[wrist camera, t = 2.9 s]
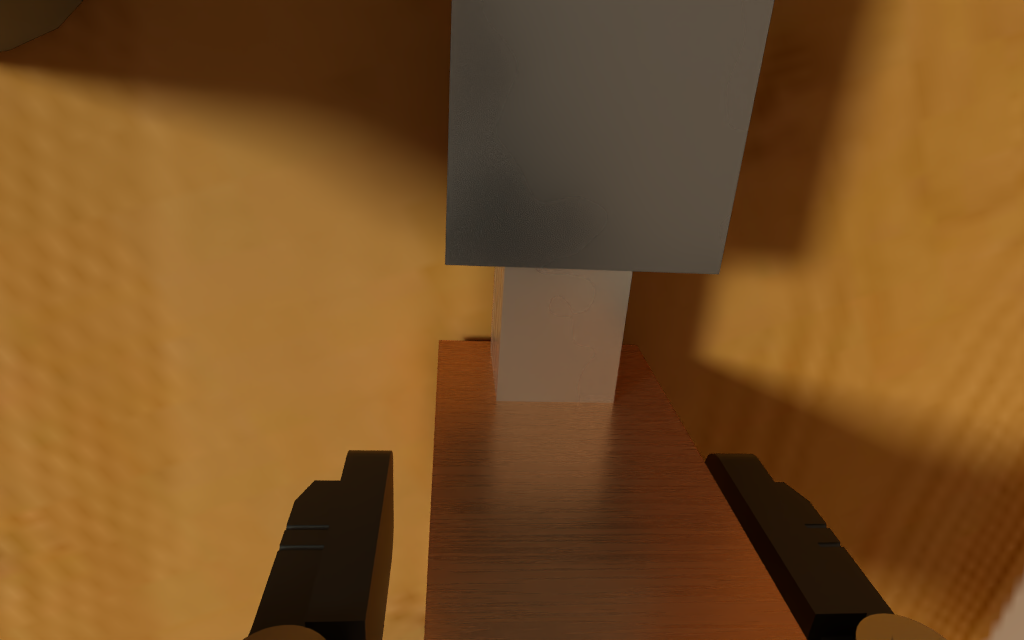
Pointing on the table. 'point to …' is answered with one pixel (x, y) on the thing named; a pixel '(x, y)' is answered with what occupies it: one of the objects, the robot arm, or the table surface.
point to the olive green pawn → (31, 19)
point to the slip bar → (578, 486)
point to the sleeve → (598, 131)
